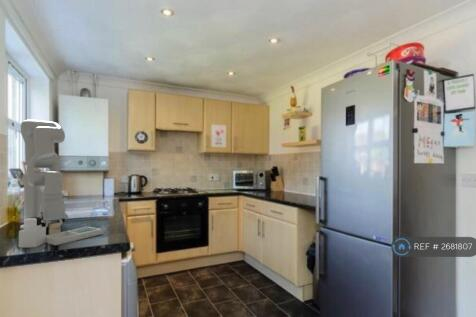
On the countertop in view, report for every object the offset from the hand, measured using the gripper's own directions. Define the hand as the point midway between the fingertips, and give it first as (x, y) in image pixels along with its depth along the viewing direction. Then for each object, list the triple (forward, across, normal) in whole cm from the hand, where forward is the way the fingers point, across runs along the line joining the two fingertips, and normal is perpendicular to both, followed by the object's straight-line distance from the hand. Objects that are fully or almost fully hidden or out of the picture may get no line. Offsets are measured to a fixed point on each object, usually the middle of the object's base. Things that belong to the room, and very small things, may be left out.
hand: (52, 233), depth 138 cm
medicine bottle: (+1, +13, +10) cm, 16 cm away
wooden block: (+1, 0, 0) cm, 1 cm away
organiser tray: (+1, -3, +12) cm, 13 cm away
